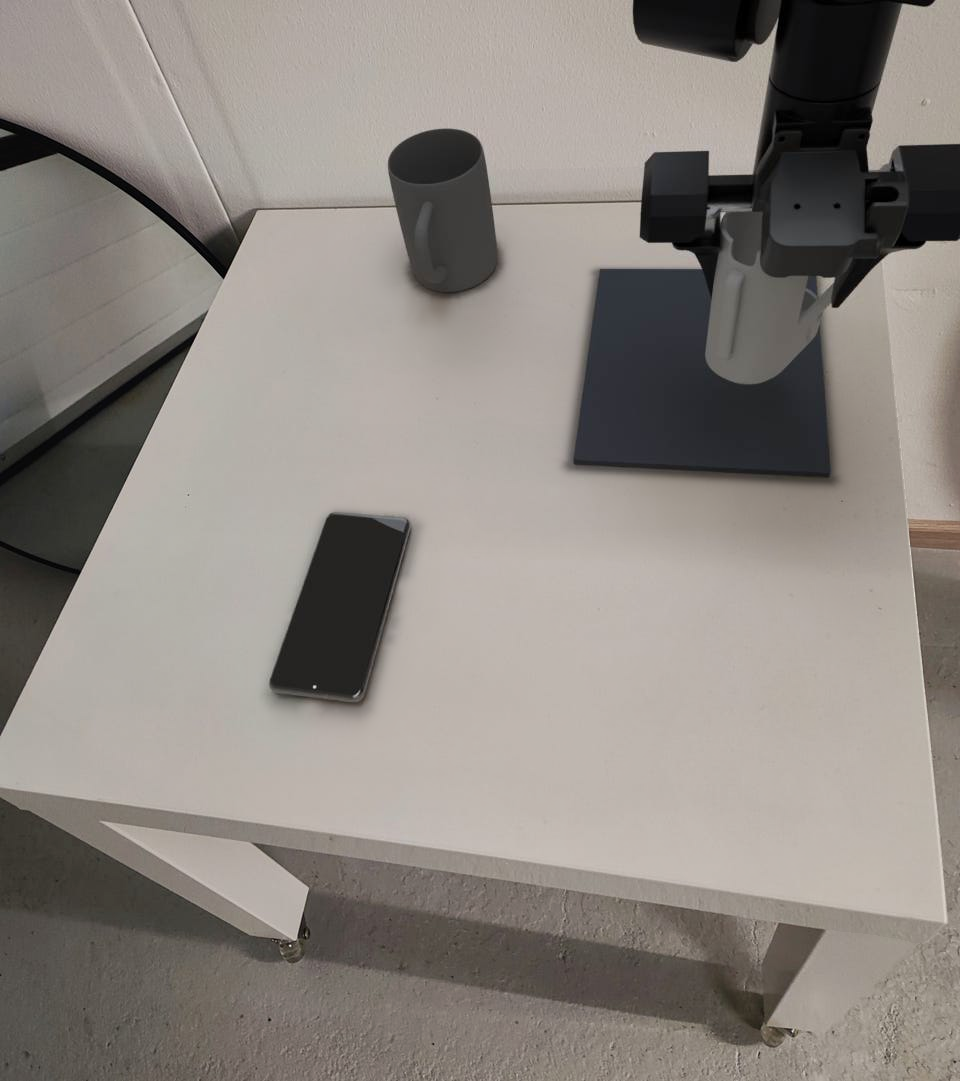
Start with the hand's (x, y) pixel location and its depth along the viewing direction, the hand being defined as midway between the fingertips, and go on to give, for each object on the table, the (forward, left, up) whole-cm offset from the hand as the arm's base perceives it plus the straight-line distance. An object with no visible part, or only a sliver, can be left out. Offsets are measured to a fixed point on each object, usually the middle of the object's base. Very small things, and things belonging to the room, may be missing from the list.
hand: (774, 303), depth 56 cm
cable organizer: (-1, -2, -5) cm, 5 cm away
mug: (+29, -18, -13) cm, 37 cm away
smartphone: (+30, +20, -13) cm, 38 cm away
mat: (+4, -7, -13) cm, 15 cm away
